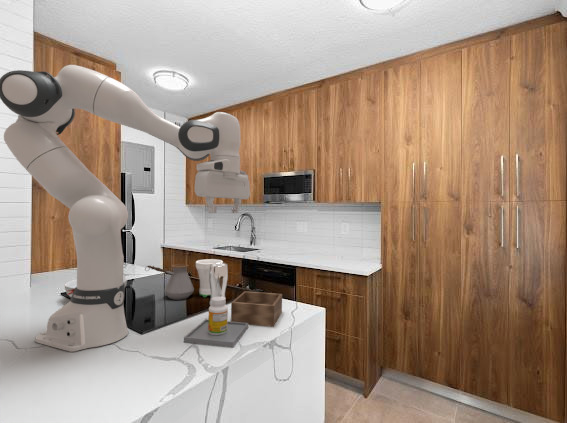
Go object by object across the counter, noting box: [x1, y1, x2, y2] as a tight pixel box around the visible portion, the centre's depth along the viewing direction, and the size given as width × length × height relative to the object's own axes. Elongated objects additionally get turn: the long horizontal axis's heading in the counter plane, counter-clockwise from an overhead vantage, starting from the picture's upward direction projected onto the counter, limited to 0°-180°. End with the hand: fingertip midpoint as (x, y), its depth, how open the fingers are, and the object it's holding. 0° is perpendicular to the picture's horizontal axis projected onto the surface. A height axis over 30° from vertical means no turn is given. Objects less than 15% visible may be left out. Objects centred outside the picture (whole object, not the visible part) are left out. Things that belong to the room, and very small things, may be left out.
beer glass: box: [209, 262, 229, 306], centre depth 117 cm, size 7×7×15 cm
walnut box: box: [230, 290, 283, 328], centre depth 103 cm, size 14×14×6 cm
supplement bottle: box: [207, 296, 229, 335], centre depth 88 cm, size 5×5×10 cm
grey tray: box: [183, 318, 249, 349], centre depth 88 cm, size 14×14×1 cm
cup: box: [195, 258, 224, 298], centre depth 128 cm, size 11×11×14 cm
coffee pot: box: [144, 263, 195, 301], centre depth 120 cm, size 21×12×15 cm, turn 151°
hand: (224, 213), depth 93 cm, fingers open, 8 cm apart
